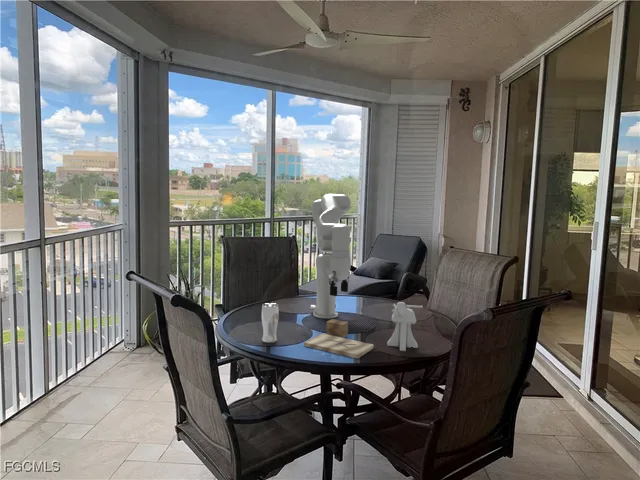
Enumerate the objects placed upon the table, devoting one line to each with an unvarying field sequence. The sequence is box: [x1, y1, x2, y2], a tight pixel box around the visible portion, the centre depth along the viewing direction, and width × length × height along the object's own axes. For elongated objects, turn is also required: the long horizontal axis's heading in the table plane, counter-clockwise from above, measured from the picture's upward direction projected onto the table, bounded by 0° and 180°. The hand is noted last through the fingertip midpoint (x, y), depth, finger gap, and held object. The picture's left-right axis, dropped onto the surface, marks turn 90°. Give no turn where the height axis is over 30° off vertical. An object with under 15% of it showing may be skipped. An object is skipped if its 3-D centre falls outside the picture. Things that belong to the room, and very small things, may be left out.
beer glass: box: [261, 302, 280, 344], centre depth 181 cm, size 7×7×15 cm
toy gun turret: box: [386, 301, 424, 352], centre depth 179 cm, size 12×13×18 cm
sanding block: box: [325, 318, 349, 338], centre depth 191 cm, size 8×5×6 cm, turn 59°
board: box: [303, 333, 375, 359], centre depth 176 cm, size 24×14×2 cm, turn 59°
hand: (338, 293), depth 189 cm, fingers open, 9 cm apart
